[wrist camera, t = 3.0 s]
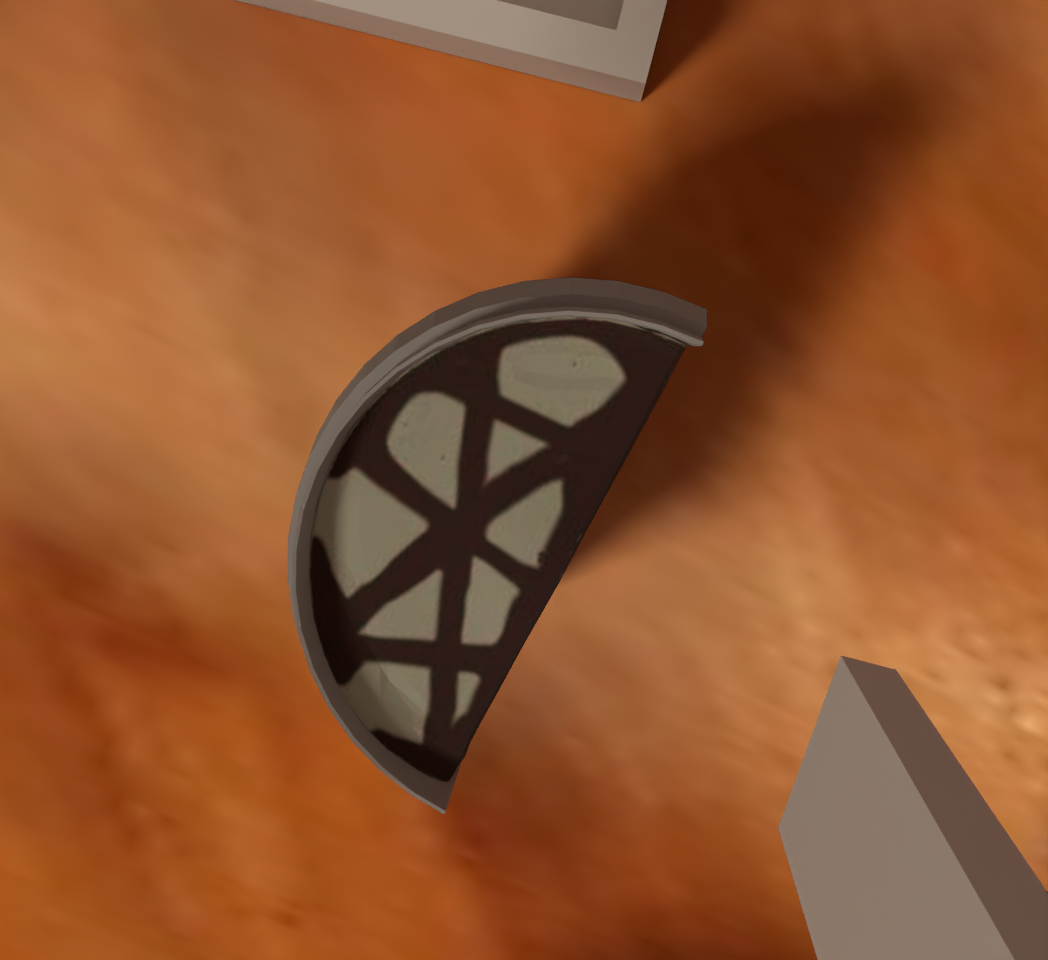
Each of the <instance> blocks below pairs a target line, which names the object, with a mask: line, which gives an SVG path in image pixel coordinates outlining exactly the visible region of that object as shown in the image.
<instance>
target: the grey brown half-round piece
mask: <svg viewBox="0 0 1048 960" xmlns="http://www.w3.org/2000/svg"><path fill="white" fill-rule="evenodd" d="M706 328H707V309H705V308H702V307H700V306H698V305H695V304H693V303H690V302H688V301H685V300H683V299H680V298H678V297H675V296H673V295H671V294H668V293H666V292H662V291H658V290H654V289H650V288H645V287H641V286H637V285H633V284H629V283H625V282H620V281H612V280H599V279H586V278H573V277H569V278H557V279H545V280H532V281H522V282H518V283H514V284H510V285H506V286H502V287H498V288H494V289H490V290H486V291H482V292H478V293H476V294H473V295H471V296H469V297H466V298H464V299H462V300H459V301H457V302H455V303H452V304H450V305H448V306H445V307H443V308H441V309H438V310H436V311H434V312H433V313H431V314H430V315H428V316H427V317H425V318H423V319H422V320H420V321H419V322H417V323H416V324H414V325H412V326H411V327H409V328H408V329H406V330H405V331H403V332H401V333H400V334H398V335H397V336H396V337H395V338H394V339H392V340H391V341H390V342H389V343H388V344H387V345H386V346H385V347H384V348H382V349H381V350H380V351H379V352H378V353H377V354H376V355H375V356H374V357H372V358H371V359H370V360H369V361H368V362H367V363H366V364H365V365H364V366H363V367H362V368H361V370H360V371H359V372H358V373H357V375H356V376H355V377H354V378H353V380H352V381H351V382H350V383H349V385H348V386H347V387H346V388H345V390H344V391H343V392H342V393H341V395H340V396H339V397H338V399H337V400H336V402H335V404H334V406H333V407H332V409H331V411H330V413H329V415H328V416H327V418H326V420H325V422H324V424H323V425H322V427H321V429H320V431H319V433H318V434H317V436H316V439H315V442H314V445H313V447H312V450H311V453H310V456H309V459H308V462H307V464H306V467H305V470H304V473H303V476H302V479H301V482H300V485H299V488H298V491H297V494H296V498H295V503H294V509H293V514H292V520H291V525H290V531H289V536H288V583H289V590H290V597H291V604H292V611H293V618H294V622H295V625H296V628H297V632H298V635H299V638H300V641H301V644H302V648H303V651H304V654H305V657H306V660H307V663H308V666H309V669H310V672H311V674H312V676H313V678H314V680H315V682H316V684H317V686H318V688H319V690H320V692H321V694H322V696H323V698H324V700H325V702H326V704H327V706H328V708H329V709H330V710H331V712H332V713H333V715H334V716H335V718H336V719H337V720H338V722H339V723H340V725H341V726H342V728H343V729H344V730H345V732H346V733H347V735H348V736H349V738H350V739H351V740H352V741H353V742H354V743H355V745H356V746H357V747H358V748H359V749H360V750H361V751H362V752H363V753H364V754H365V755H366V756H367V757H368V758H369V759H370V760H371V761H372V762H373V764H374V765H375V766H376V767H377V768H378V769H379V770H380V771H382V772H383V773H384V774H385V775H387V776H388V777H389V778H390V779H392V780H393V781H394V782H396V783H397V784H398V785H399V786H401V787H402V788H403V789H404V790H406V791H407V792H408V793H409V794H411V795H412V796H414V797H416V798H417V799H419V800H421V801H422V802H424V803H426V804H427V805H429V806H431V807H433V808H434V809H436V810H438V811H439V812H441V813H443V814H444V813H445V811H446V808H447V805H448V802H449V799H450V796H451V792H452V789H453V786H454V783H455V780H456V776H457V773H458V770H459V767H460V764H461V761H462V760H463V758H464V757H465V755H466V752H467V750H468V747H469V744H470V742H471V740H472V738H473V736H474V734H475V732H476V730H477V728H478V726H479V725H480V723H481V721H482V719H483V717H484V716H485V714H486V712H487V710H488V708H489V707H490V705H491V703H492V701H493V699H494V698H495V696H496V694H497V692H498V690H499V689H500V687H501V685H502V683H503V681H504V680H505V678H506V676H507V674H508V672H509V670H510V669H511V667H512V665H513V663H514V661H515V659H516V658H517V656H518V654H519V652H520V650H521V648H522V647H523V645H524V643H525V641H526V640H527V638H528V636H529V634H530V633H531V631H532V629H533V627H534V626H535V624H536V622H537V620H538V619H539V617H540V615H541V613H542V611H543V610H544V608H545V606H546V604H547V603H548V601H549V599H550V597H551V596H552V594H553V592H554V590H555V589H556V587H557V585H558V583H559V582H560V580H561V578H562V576H563V574H564V572H565V570H566V568H567V566H568V564H569V563H570V561H571V559H572V557H573V555H574V553H575V551H576V549H577V547H578V545H579V544H580V542H581V540H582V538H583V536H584V534H585V532H586V530H587V528H588V526H589V525H590V523H591V521H592V519H593V517H594V515H595V514H596V512H597V510H598V508H599V506H600V505H601V503H602V501H603V499H604V497H605V495H606V494H607V492H608V490H609V488H610V486H611V485H612V483H613V481H614V479H615V477H616V476H617V474H618V472H619V470H620V468H621V466H622V465H623V463H624V461H625V459H626V457H627V455H628V454H629V452H630V450H631V448H632V446H633V444H634V443H635V441H636V439H637V437H638V435H639V433H640V432H641V430H642V428H643V426H644V424H645V422H646V421H647V419H648V417H649V415H650V413H651V411H652V410H653V408H654V406H655V404H656V402H657V400H658V399H659V397H660V395H661V393H662V391H663V389H664V387H665V385H666V383H667V382H668V380H669V378H670V376H671V374H672V372H673V370H674V368H675V366H676V365H677V363H678V361H679V359H680V357H681V355H682V353H683V351H684V350H685V348H686V346H702V345H703V343H704V341H703V339H702V338H701V337H702V335H703V333H704V332H705V330H706Z"/></svg>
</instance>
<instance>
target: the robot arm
mask: <svg viewBox="0 0 1048 960" xmlns="http://www.w3.org/2000/svg"><path fill="white" fill-rule="evenodd" d="M778 829H779V832H780V835H781V839H782V842H783V845H784V849H785V852H786V855H787V859H788V862H789V865H790V869H791V872H792V875H793V879H794V882H795V885H796V889H797V892H798V896H799V899H800V902H801V906H802V909H803V912H804V916H805V919H806V922H807V926H808V929H809V932H810V936H811V939H812V942H813V946H814V949H815V952H816V956H817V959H818V960H1048V892H1047V891H1046V890H1045V888H1044V887H1043V885H1042V884H1041V882H1040V881H1039V880H1038V878H1037V877H1036V875H1035V874H1034V872H1033V871H1032V869H1031V868H1030V866H1029V865H1028V863H1027V862H1026V860H1025V859H1024V857H1023V856H1022V855H1021V853H1020V852H1019V850H1018V849H1017V847H1016V846H1015V844H1014V843H1013V841H1012V840H1011V838H1010V837H1009V835H1008V834H1007V832H1006V831H1005V829H1004V828H1003V827H1002V825H1001V824H1000V822H999V821H998V819H997V818H996V816H995V815H994V813H993V812H992V810H991V809H990V807H989V806H988V804H987V803H986V802H985V800H984V799H983V797H982V796H981V794H980V793H979V791H978V790H977V788H976V787H975V785H974V784H973V782H972V781H971V779H970V778H969V777H968V775H967V774H966V772H965V771H964V769H963V768H962V766H961V765H960V763H959V762H958V760H957V759H956V757H955V756H954V754H953V753H952V752H951V750H950V749H949V747H948V746H947V744H946V743H945V741H944V740H943V738H942V737H941V735H940V734H939V732H938V731H937V729H936V728H935V727H934V725H933V724H932V722H931V721H930V719H929V718H928V716H927V715H926V713H925V712H924V710H923V709H922V707H921V706H920V704H919V703H918V702H917V700H916V699H915V697H914V696H913V694H912V693H911V691H910V690H909V688H908V687H907V685H906V684H905V682H904V681H903V679H902V678H901V677H900V675H899V674H898V672H897V671H896V670H895V669H891V668H887V667H883V666H879V665H875V664H872V663H868V662H864V661H860V660H856V659H852V658H848V657H845V656H840V659H839V662H838V665H837V667H836V670H835V673H834V676H833V678H832V681H831V684H830V687H829V689H828V692H827V695H826V698H825V700H824V703H823V706H822V709H821V711H820V714H819V717H818V720H817V722H816V725H815V728H814V731H813V733H812V736H811V739H810V742H809V745H808V747H807V750H806V753H805V756H804V758H803V761H802V764H801V767H800V769H799V772H798V775H797V778H796V780H795V783H794V786H793V789H792V791H791V794H790V797H789V800H788V802H787V805H786V808H785V811H784V813H783V816H782V819H781V822H780V824H779V827H778Z"/></svg>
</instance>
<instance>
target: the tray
mask: <svg viewBox="0 0 1048 960" xmlns="http://www.w3.org/2000/svg"><path fill="white" fill-rule="evenodd" d="M237 1H241V2H245V3H249V4H253V5H257V6H261V7H265V8H269V9H273V10H277V11H281V12H285V13H289V14H293V15H297V16H301V17H305V18H309V19H313V20H317V21H320V22H324V23H328V24H332V25H336V26H340V27H344V28H348V29H352V30H356V31H360V32H364V33H368V34H372V35H376V36H380V37H384V38H388V39H392V40H396V41H400V42H404V43H408V44H412V45H416V46H420V47H424V48H428V49H432V50H435V51H439V52H443V53H447V54H451V55H455V56H459V57H463V58H467V59H471V60H475V61H479V62H483V63H487V64H491V65H495V66H499V67H503V68H507V69H511V70H515V71H519V72H523V73H527V74H531V75H535V76H539V77H543V78H547V79H551V80H554V81H558V82H562V83H566V84H570V85H574V86H578V87H582V88H586V89H590V90H594V91H598V92H602V93H606V94H610V95H614V96H618V97H622V98H626V99H630V100H634V101H638V102H641V99H642V95H643V91H644V88H645V84H646V80H647V76H648V72H649V69H650V65H651V61H652V57H653V53H654V49H655V45H656V42H657V38H658V34H659V30H660V26H661V22H662V19H663V15H664V11H665V7H666V3H667V0H237Z"/></svg>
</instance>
